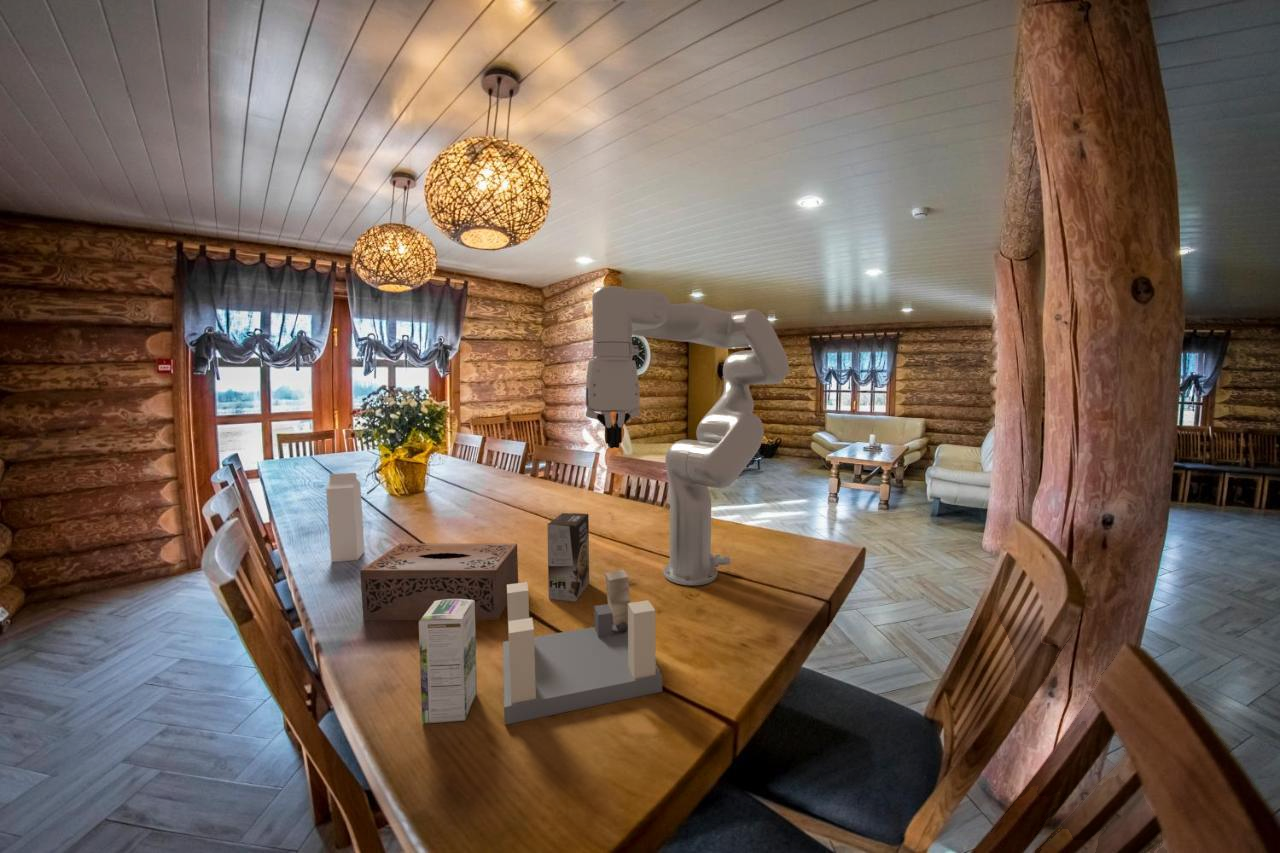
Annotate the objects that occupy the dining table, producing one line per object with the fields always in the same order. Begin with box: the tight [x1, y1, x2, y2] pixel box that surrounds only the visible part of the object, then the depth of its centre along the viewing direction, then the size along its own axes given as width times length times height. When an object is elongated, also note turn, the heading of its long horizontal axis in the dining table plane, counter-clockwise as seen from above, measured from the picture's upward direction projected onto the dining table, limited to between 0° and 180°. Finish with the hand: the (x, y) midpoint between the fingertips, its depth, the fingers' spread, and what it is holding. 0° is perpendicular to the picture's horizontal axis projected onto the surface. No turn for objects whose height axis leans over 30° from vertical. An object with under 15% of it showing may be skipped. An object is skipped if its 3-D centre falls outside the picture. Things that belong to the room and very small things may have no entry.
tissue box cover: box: [359, 543, 519, 621], centre depth 95 cm, size 26×14×10 cm, turn 90°
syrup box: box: [418, 599, 478, 724], centre depth 63 cm, size 6×6×14 cm
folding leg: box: [604, 569, 631, 633], centre depth 79 cm, size 3×4×10 cm
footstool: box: [502, 581, 663, 726], centre depth 71 cm, size 22×16×12 cm
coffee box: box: [547, 512, 590, 603], centre depth 99 cm, size 9×6×16 cm
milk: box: [325, 472, 366, 563], centre depth 118 cm, size 6×6×22 cm
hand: (613, 446), depth 91 cm, fingers closed
